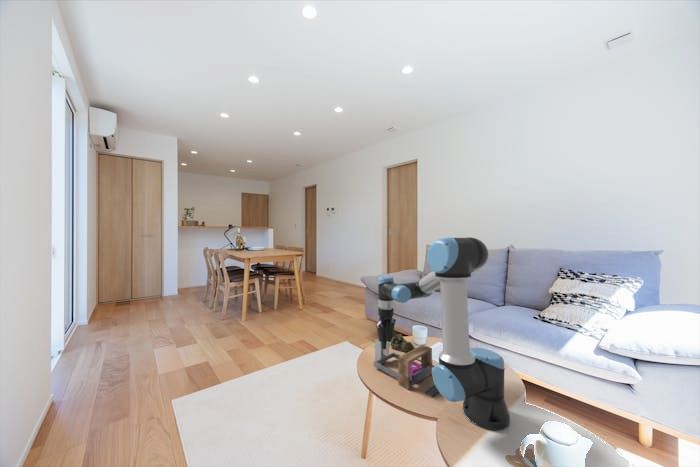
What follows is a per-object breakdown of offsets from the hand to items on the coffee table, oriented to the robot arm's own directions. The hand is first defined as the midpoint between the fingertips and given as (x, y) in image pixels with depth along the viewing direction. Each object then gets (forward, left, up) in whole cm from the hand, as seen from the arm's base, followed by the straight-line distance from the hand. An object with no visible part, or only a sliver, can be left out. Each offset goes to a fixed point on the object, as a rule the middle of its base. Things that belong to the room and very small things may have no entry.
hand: (385, 354), depth 134 cm
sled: (-8, 0, -5) cm, 9 cm away
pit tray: (-28, 0, -5) cm, 28 cm away
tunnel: (-18, 0, -5) cm, 18 cm away
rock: (+6, -21, -5) cm, 22 cm away
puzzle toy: (-17, 0, -5) cm, 17 cm away
